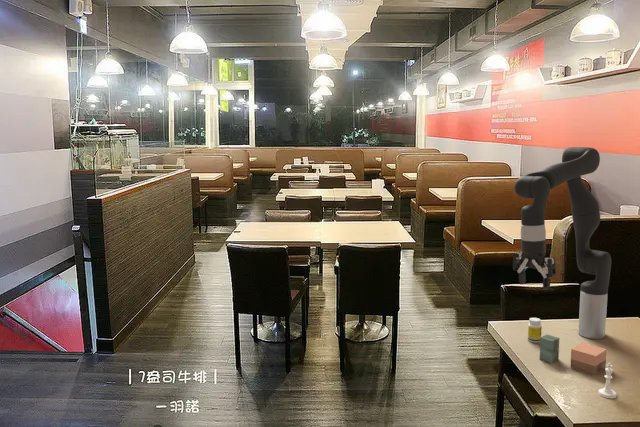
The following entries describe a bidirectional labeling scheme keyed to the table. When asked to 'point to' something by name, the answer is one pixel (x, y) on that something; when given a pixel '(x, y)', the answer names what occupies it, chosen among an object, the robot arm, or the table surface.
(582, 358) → the terracotta top block
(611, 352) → the table surface
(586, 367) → the walnut base block
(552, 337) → the green pillar block
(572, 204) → the robot arm
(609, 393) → the chess piece
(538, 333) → the supplement bottle
